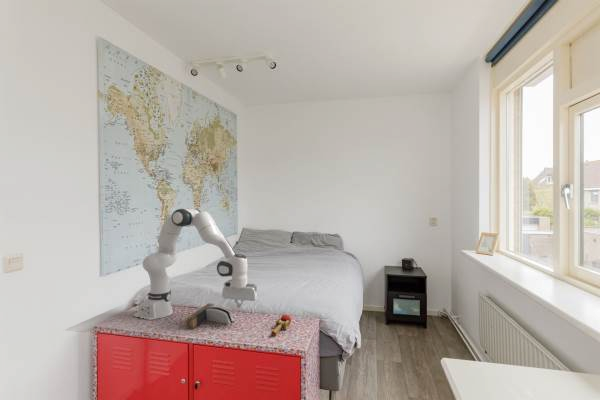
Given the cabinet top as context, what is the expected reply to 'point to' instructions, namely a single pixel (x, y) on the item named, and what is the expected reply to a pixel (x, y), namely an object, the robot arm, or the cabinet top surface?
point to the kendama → (281, 324)
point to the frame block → (194, 318)
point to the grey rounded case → (219, 315)
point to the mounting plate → (202, 316)
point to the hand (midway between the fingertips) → (239, 307)
